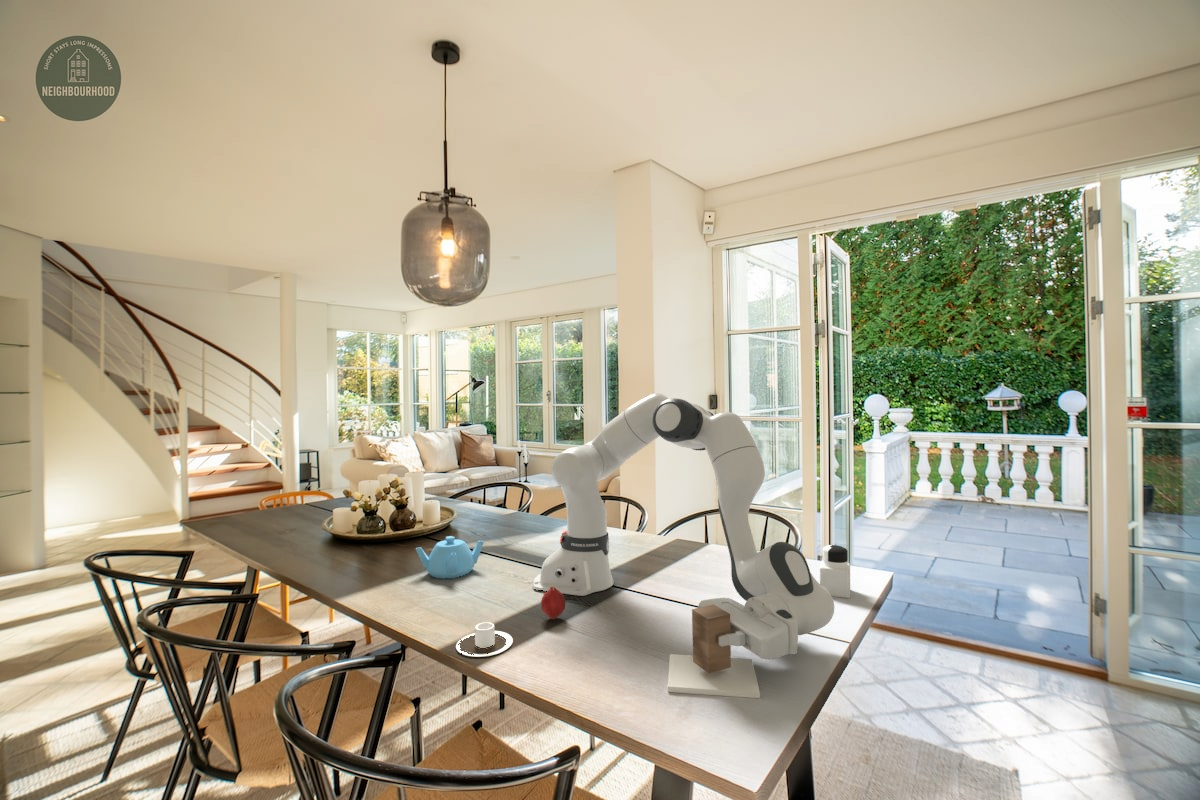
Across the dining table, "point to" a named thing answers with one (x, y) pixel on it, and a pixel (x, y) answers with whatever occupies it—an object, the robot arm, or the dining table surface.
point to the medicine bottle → (835, 571)
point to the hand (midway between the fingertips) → (707, 633)
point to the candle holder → (486, 639)
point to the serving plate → (712, 678)
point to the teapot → (450, 558)
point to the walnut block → (710, 638)
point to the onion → (553, 603)
